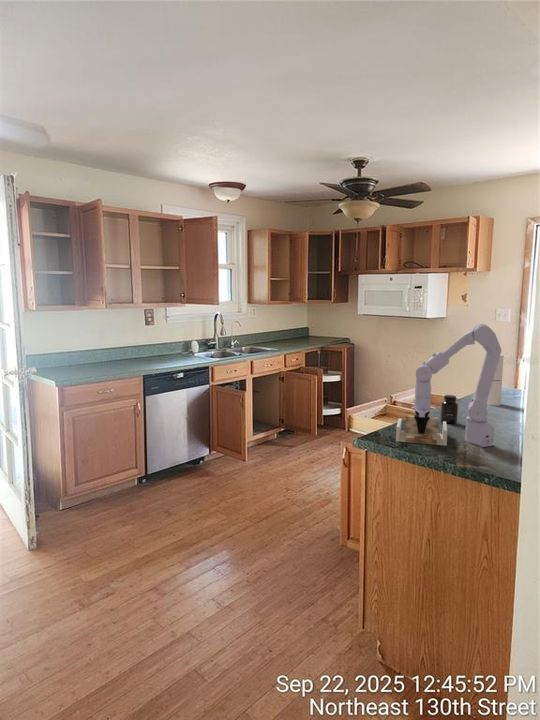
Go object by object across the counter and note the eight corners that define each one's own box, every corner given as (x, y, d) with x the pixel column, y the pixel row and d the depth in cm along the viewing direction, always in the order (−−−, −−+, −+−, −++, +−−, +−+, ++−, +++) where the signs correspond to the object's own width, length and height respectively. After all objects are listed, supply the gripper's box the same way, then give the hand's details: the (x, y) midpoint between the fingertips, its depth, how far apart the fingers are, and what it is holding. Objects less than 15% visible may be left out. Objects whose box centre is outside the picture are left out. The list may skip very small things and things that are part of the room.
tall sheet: (437, 436, 185) (438, 417, 184) (437, 437, 183) (438, 418, 182) (405, 433, 189) (406, 415, 188) (405, 435, 187) (405, 416, 186)
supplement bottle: (446, 425, 202) (448, 398, 200) (437, 421, 209) (438, 394, 207) (460, 424, 204) (462, 397, 202) (450, 420, 210) (451, 393, 209)
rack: (445, 436, 188) (446, 421, 187) (446, 447, 174) (447, 431, 174) (398, 432, 193) (398, 418, 192) (395, 442, 180) (396, 427, 179)
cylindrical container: (481, 403, 242) (484, 354, 238) (491, 401, 245) (494, 353, 241) (493, 406, 235) (496, 355, 232) (503, 404, 238) (506, 354, 235)
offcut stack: (436, 441, 179) (436, 435, 178) (436, 444, 176) (437, 438, 175) (406, 439, 182) (406, 433, 182) (405, 441, 179) (405, 435, 179)
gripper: (412, 392, 192) (411, 425, 194) (411, 399, 178) (410, 435, 180) (431, 393, 190) (429, 426, 192) (431, 401, 176) (429, 436, 178)
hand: (421, 430), depth 186 cm, fingers open, 7 cm apart
